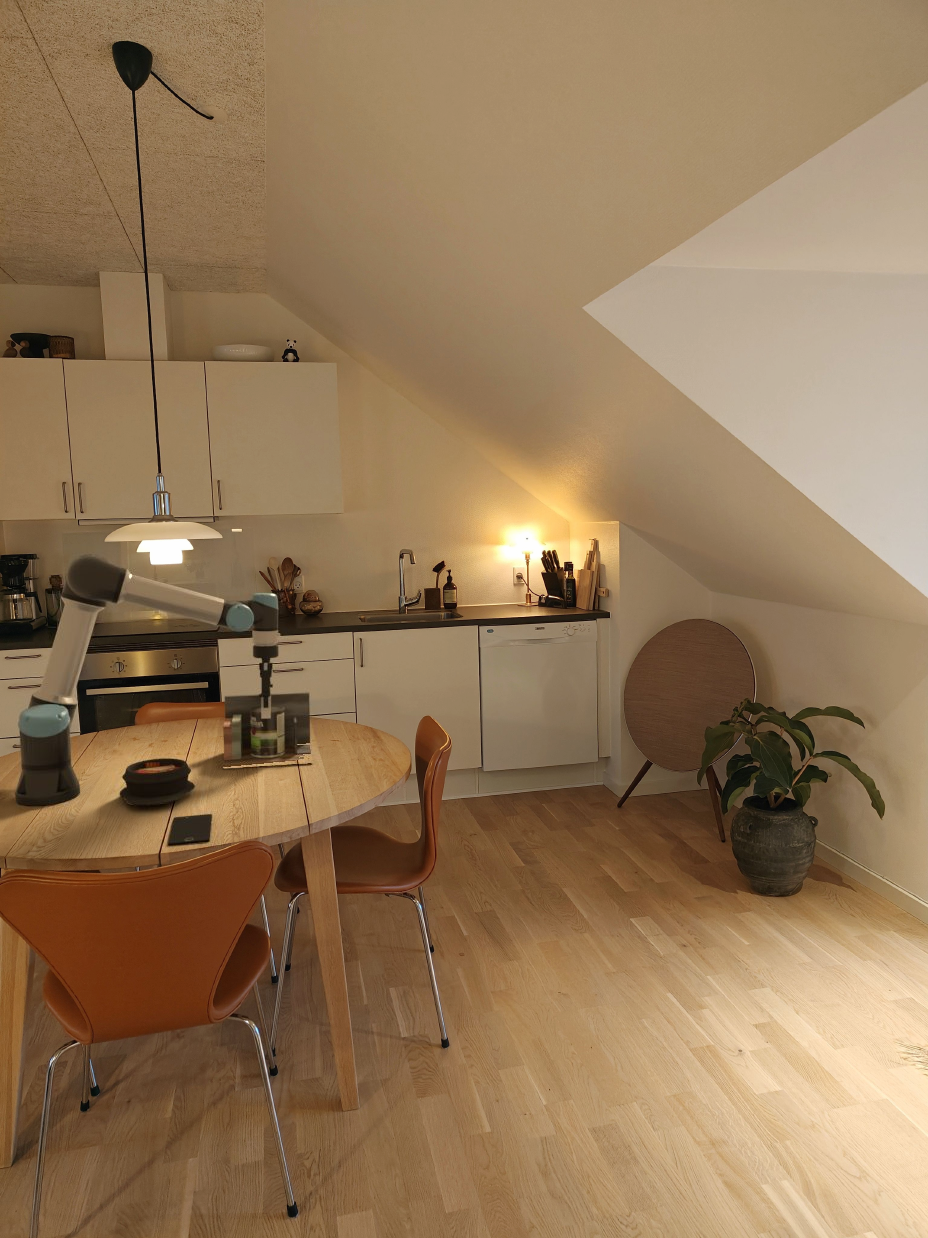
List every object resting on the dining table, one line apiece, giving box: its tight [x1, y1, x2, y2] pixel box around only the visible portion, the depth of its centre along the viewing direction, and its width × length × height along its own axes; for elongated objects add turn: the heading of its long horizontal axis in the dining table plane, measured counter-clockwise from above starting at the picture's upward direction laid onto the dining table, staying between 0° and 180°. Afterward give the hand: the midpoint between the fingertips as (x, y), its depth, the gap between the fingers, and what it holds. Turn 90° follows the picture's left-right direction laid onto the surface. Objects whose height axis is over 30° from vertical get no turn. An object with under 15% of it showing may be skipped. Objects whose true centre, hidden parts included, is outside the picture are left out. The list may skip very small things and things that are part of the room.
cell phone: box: [167, 813, 213, 847], centre depth 192 cm, size 9×18×1 cm, turn 15°
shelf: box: [222, 691, 312, 768], centre depth 253 cm, size 20×26×18 cm
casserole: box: [119, 757, 196, 806], centre depth 216 cm, size 25×19×8 cm
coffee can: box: [250, 705, 285, 758], centre depth 252 cm, size 10×10×14 cm
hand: (266, 713), depth 251 cm, fingers open, 13 cm apart
